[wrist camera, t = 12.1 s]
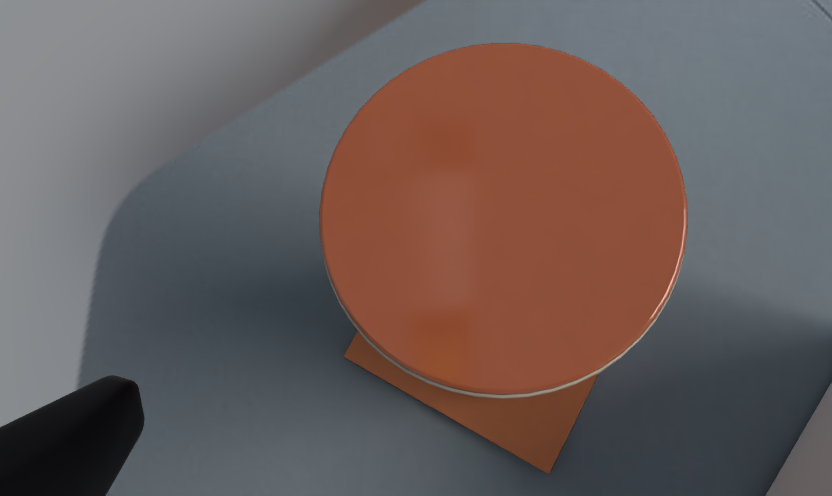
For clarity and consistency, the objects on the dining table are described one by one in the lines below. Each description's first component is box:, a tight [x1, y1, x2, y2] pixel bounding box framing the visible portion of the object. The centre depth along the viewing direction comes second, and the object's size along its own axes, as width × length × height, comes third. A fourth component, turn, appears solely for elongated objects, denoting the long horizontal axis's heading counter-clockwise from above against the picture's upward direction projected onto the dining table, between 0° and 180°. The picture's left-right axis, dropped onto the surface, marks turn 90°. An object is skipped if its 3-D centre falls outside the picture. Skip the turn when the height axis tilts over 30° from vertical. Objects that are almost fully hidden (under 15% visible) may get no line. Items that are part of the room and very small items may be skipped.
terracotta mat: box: [344, 331, 599, 474], centre depth 22 cm, size 8×8×1 cm
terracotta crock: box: [319, 43, 688, 399], centre depth 16 cm, size 6×6×13 cm
